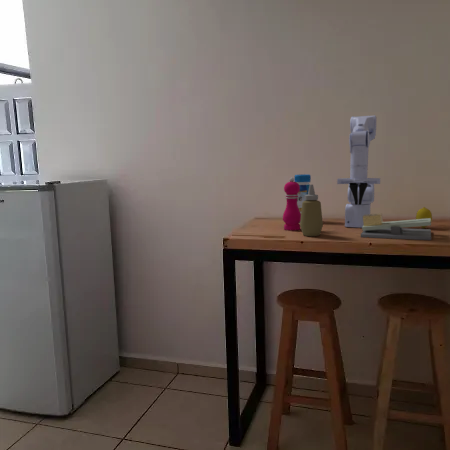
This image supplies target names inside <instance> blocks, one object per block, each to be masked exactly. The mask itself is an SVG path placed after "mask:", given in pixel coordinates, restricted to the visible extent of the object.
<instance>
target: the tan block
mask: <svg viewBox="0 0 450 450" xmlns="http://www.w3.org/2000/svg"><path fill="white" fill-rule="evenodd" d="M383 222H384V220H383V213H382V212H379V213H370V214H367V215H364V216H363V223H364V226H374V225H382V223H383Z"/></svg>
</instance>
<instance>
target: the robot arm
mask: <svg viewBox="0 0 450 450" xmlns="http://www.w3.org/2000/svg"><path fill="white" fill-rule="evenodd" d="M349 123H350V124H349V127H350V128H349V129H350V133H349V137H348V144H349V153H350V163H349V164H350V166H349V167H350V168H349V170H350V173H349V174H350V176H349V177H350V178H349V177H348V178H341V177H340V178H337V179H336V180H337V181H336V184H337V185H348V187H347V202H348V203H346V205H345V207H344V208H345V209H344V227H345V228H362V227H363V225H364V223H363V216H364V215H367V214H371V204H373V203H374V201H375V185H380V184H381V178H380V177H368V173H369V172H368V170H369V167H368V166H369V148H370V144H371V141H372V140H374V139H375V138H376V136H377V116H376V115H375V114H373V115H361V116H354V115H352V116H351V117H350V120H349Z"/></svg>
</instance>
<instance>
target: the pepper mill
mask: <svg viewBox="0 0 450 450" xmlns="http://www.w3.org/2000/svg"><path fill="white" fill-rule="evenodd" d="M283 191H284V193H285V195H284V196H285V200H286V206H285V210H284V211H283V215H282V221H283V223H284V225H283V230H284V231H300V230H301V227H300V223H299V222H300V221H301V213H300V211H299V208H298V205H297V198H299V197H298V192H299V191H300V186H299V184H298V183H296V182H295V179H294V177H290V178H289V181H288V182H286V183H285V184H284V186H283Z"/></svg>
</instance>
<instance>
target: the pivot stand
mask: <svg viewBox="0 0 450 450" xmlns="http://www.w3.org/2000/svg"><path fill="white" fill-rule="evenodd" d="M431 230H432V229H430V228H428V229H427V228H426V229H425V228H406V227H404V228H400V227H395V226H391V229H377V230H364V231H362V232H361V233H360V238H367V237H369V238H371V239H374V238H375V239H391V238H392V240H393V239H396V240H397V239H399V240H415V241H416V240H420V241H421V240H422V241H432V231H431Z"/></svg>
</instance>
